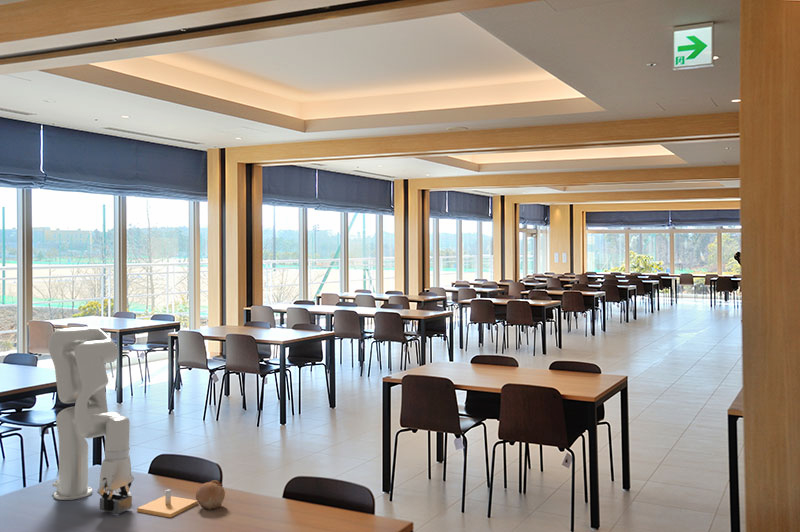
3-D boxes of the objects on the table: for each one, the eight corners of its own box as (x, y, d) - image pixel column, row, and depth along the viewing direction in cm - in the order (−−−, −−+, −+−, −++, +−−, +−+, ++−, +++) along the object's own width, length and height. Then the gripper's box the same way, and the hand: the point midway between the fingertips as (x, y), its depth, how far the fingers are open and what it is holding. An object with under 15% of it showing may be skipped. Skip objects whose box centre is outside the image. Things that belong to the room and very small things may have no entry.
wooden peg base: (137, 511, 232) (137, 493, 232) (165, 498, 245) (165, 481, 245) (170, 517, 226) (170, 499, 226) (197, 504, 239) (198, 486, 239)
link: (99, 510, 230) (99, 498, 230) (113, 504, 236) (113, 492, 236) (118, 514, 227) (118, 502, 227) (131, 508, 233) (131, 496, 233)
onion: (217, 512, 240) (228, 484, 243) (218, 514, 231) (230, 484, 235) (191, 504, 238) (202, 475, 242) (191, 505, 229) (203, 475, 233)
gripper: (127, 446, 241) (126, 497, 241) (88, 459, 225) (86, 514, 225) (144, 448, 238) (142, 500, 238) (105, 462, 222) (104, 517, 222)
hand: (115, 506), depth 231 cm, fingers closed on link, 6 cm apart
